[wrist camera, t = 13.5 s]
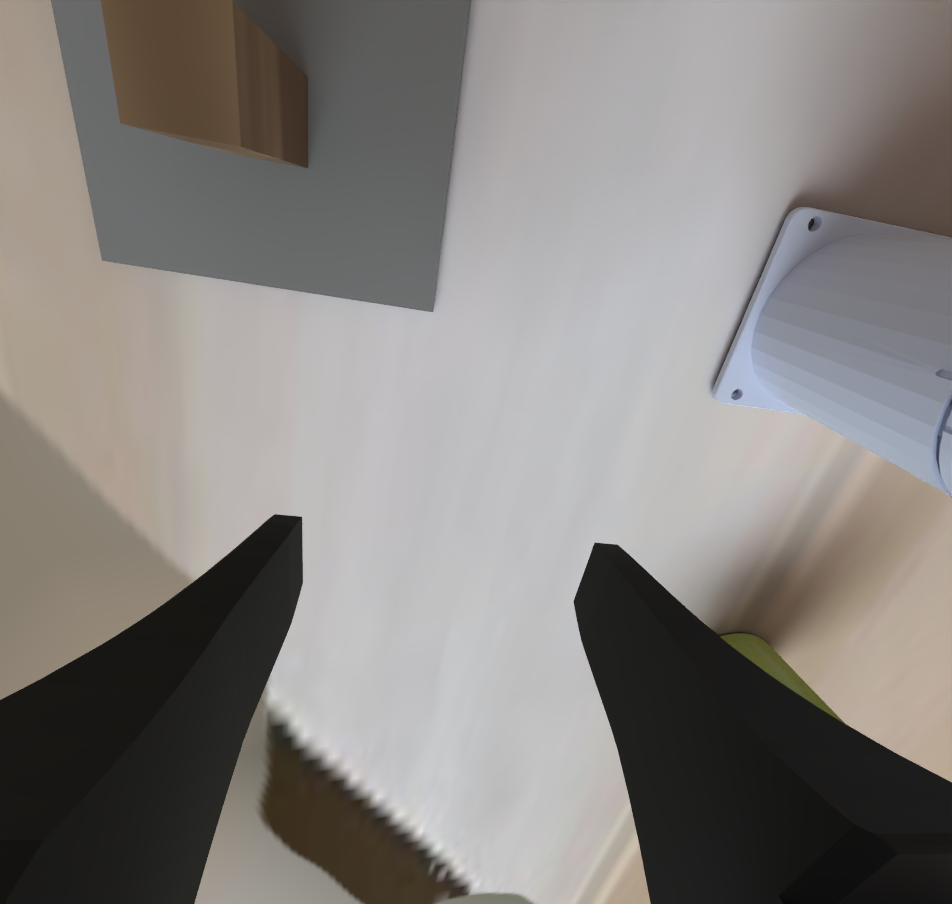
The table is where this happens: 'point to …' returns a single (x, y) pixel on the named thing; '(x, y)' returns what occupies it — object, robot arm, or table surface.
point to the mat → (281, 185)
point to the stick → (206, 78)
